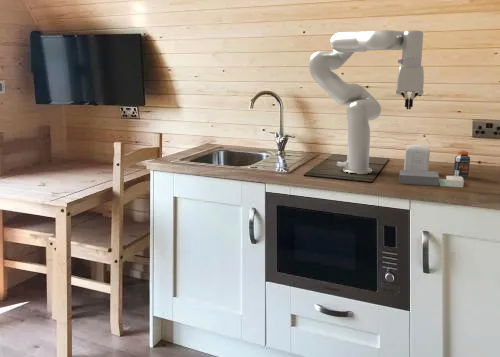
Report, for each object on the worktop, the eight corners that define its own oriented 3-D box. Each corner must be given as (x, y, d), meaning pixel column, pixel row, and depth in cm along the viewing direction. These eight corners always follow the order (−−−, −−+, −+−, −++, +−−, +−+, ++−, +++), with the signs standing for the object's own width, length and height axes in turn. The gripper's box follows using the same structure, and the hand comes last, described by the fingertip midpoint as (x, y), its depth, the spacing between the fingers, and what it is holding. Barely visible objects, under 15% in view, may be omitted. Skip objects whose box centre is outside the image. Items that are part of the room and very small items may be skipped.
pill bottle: (458, 179, 220) (460, 152, 218) (450, 176, 226) (452, 149, 224) (471, 178, 222) (473, 151, 219) (463, 175, 227) (465, 149, 225)
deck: (398, 183, 213) (399, 175, 212) (399, 177, 223) (399, 169, 222) (438, 185, 209) (439, 177, 208) (436, 179, 219) (437, 171, 218)
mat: (439, 186, 208) (439, 185, 208) (438, 179, 219) (438, 178, 219) (462, 187, 206) (463, 186, 206) (459, 180, 217) (460, 180, 217)
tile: (463, 180, 207) (463, 185, 207) (462, 176, 214) (461, 181, 215) (447, 179, 209) (447, 184, 209) (446, 175, 216) (445, 180, 216)
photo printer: (428, 172, 233) (430, 144, 231) (427, 174, 230) (429, 146, 227) (404, 170, 237) (406, 143, 235) (403, 172, 233) (405, 144, 231)
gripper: (391, 62, 209) (389, 109, 213) (431, 62, 205) (428, 110, 209) (392, 62, 216) (389, 107, 220) (430, 62, 212) (427, 108, 216)
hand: (408, 109), depth 214 cm, fingers closed
